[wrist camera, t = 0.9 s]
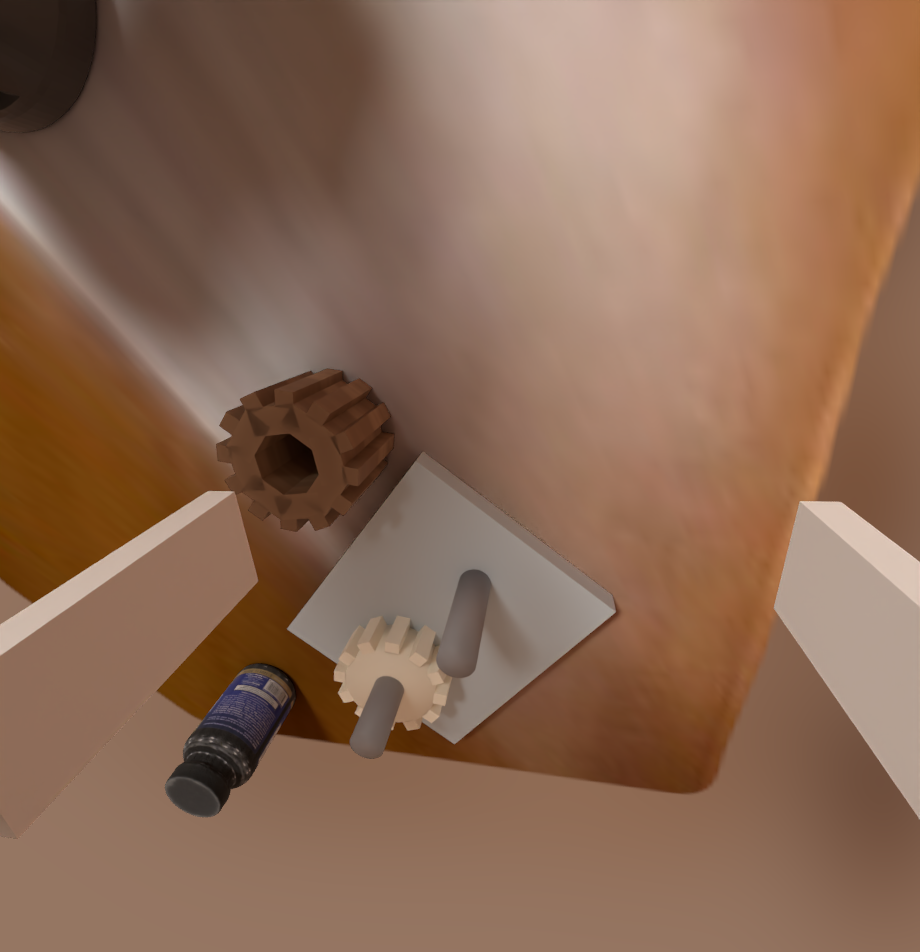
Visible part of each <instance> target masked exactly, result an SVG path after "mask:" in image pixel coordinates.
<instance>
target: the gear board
mask: <svg viewBox="0 0 920 952" xmlns="http://www.w3.org/2000/svg"><path fill="white" fill-rule="evenodd" d="M615 612H616V609H615V605H614V600H613V595H612V594H610V593H609V592H608V591H606V590H605V589H604V588H602V587H601V586H600V585H598V584H597V583H596V582H595V581H593V580H592V579H591V578H589V577H588V576H587V575H585V574H584V573H583V572H581V571H580V570H579V569H577V568H576V567H575V566H573V565H572V564H571V563H569V562H568V561H567V560H566V559H564V558H563V557H562V556H560V555H559V554H558V553H556V552H555V551H554V550H552V549H551V548H550V547H548V546H547V545H546V544H544V543H543V542H542V541H541V540H539V539H538V538H537V537H535V536H534V535H533V534H531V533H530V532H529V531H527V530H526V529H525V528H523V527H522V526H521V525H519V524H518V523H517V522H515V521H514V520H513V519H512V518H510V517H509V516H508V515H506V514H505V513H504V512H502V511H501V510H500V509H498V508H497V507H496V506H494V505H493V504H492V503H490V502H489V501H488V500H487V499H485V498H484V497H483V496H481V495H480V494H479V493H477V492H476V491H475V490H473V489H472V488H471V487H469V486H468V485H467V484H465V483H464V482H463V481H461V480H460V479H459V478H458V477H456V476H455V475H454V474H452V473H451V472H450V471H448V470H447V469H446V468H444V467H443V466H442V465H440V464H439V463H438V462H436V461H435V460H434V459H433V458H431V457H430V456H429V455H427V454H426V453H425V452H422V453H421V454H420V456H419V457H418V458H417V460H416V461H415V462H414V463H413V465H412V466H411V467H410V469H409V470H408V471H407V473H406V474H405V475H404V476H403V478H402V479H401V480H400V482H399V483H398V484H397V486H396V487H395V488H394V490H393V491H392V492H391V493H390V495H389V496H388V497H387V499H386V500H385V501H384V503H383V504H382V505H381V507H380V508H379V509H378V510H377V512H376V513H375V514H374V516H373V517H372V518H371V520H370V521H369V522H368V524H367V525H366V526H365V527H364V529H363V530H362V531H361V533H360V534H359V535H358V537H357V538H356V539H355V541H354V542H353V543H352V544H351V546H350V547H349V548H348V550H347V551H346V552H345V554H344V555H343V556H342V558H341V559H340V560H339V561H338V563H337V564H336V565H335V567H334V568H333V569H332V571H331V572H330V573H329V575H328V576H327V577H326V578H325V580H324V581H323V582H322V584H321V585H320V586H319V588H318V589H317V590H316V592H315V593H314V594H313V595H312V597H311V598H310V599H309V601H308V602H307V603H306V605H305V606H304V607H303V608H302V610H301V611H300V612H299V614H298V615H297V616H296V618H295V619H294V620H293V622H292V623H291V624H290V626H289V627H288V628H287V630H289V631H290V632H292V633H293V634H295V635H296V636H297V637H299V638H300V639H302V640H303V641H305V642H306V643H308V644H309V645H311V646H312V647H313V648H315V649H316V650H318V651H319V652H321V653H322V654H324V655H325V656H327V657H328V658H330V659H331V660H332V661H334V662H335V663H337V666H336V668H335V670H334V681H338V682H342V683H343V684H342V686H341V688H340V690H339V692H338V694H339V695H340V697H341V699H342V700H343V702H344V703H346V702H351V701H355V703H356V704H357V705H358V707H357V709H356V711H355V714H356V715H358V716H359V717H360V718H359V720H358V722H357V725H356V727H355V729H354V732H353V734H352V736H351V739H350V746H351V748H352V749H353V751H354V752H355V753H357V754H358V755H360V756H362V757H365V758H369V759H374V758H378V757H380V756H381V755H382V754H383V751H384V749H385V746H386V743H387V740H388V737H389V734H390V731H391V730H393V728H394V725H395V722H403V724H404V725H405V727H406V729H407V730H408V731H409V730H415V729H420V726H421V722H423V723H424V724H426V725H427V726H429V727H430V728H432V729H433V730H434V731H436V732H437V733H439V734H440V735H442V736H443V737H445V738H446V739H448V740H449V741H451V742H452V743H453V744H455V743H457V742H458V741H459V740H460V739H462V738H463V737H464V736H465V735H466V734H468V733H469V732H470V731H471V730H473V729H474V728H475V727H476V726H477V725H479V724H480V723H481V722H482V721H484V720H485V719H486V718H487V717H488V716H490V715H491V714H492V713H493V712H495V711H496V710H497V709H498V708H499V707H501V706H502V705H503V704H504V703H506V702H507V701H508V700H509V699H510V698H512V697H513V696H514V695H515V694H517V693H518V692H519V691H520V690H521V689H523V688H524V687H525V686H526V685H528V684H529V683H530V682H531V681H532V680H534V679H535V678H536V677H537V676H539V675H540V674H541V673H542V672H543V671H545V670H546V669H547V668H548V667H550V666H551V665H552V664H553V663H554V662H556V661H557V660H558V659H559V658H561V657H562V656H563V655H564V654H565V653H567V652H568V651H569V650H570V649H572V648H573V647H574V646H575V645H576V644H578V643H579V642H580V641H581V640H582V639H584V638H585V637H586V636H587V635H589V634H590V633H591V632H592V631H593V630H595V629H596V628H597V627H598V626H600V625H601V624H602V623H603V622H604V621H606V620H607V619H608V618H609V617H611V616H612V615H613V614H614V613H615Z"/></svg>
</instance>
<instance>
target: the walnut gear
mask: <svg viewBox="0 0 920 952" xmlns="http://www.w3.org/2000/svg"><path fill="white" fill-rule="evenodd" d="M342 378H343V371H340V370H334V369H325V370H323V371H320V372H318V373H315V374H312V372H311V371H309V372H306V373H304V374H301V375H298V376H296V377H293V378H290V379H288V380H285V381H282V382H280V383H277V384H275V385H272V386H269V387H267V388H264V389H261V390H259V391H256V392H254V393H251V394H249V395H247V396H245V397H243V398H241V399H240V401H241V402H242V404H243V405H242V406H239V407H237V408H234V409H232V410H229V411H227V412H226V414H225V416H224V418H223V419H222V421H221V423H220V425H219V426H220V427H222V428H223V429H224V430H226V431H227V432H229V433H230V434H231V435H232V436H231V437H230V438H228V439H226V440H224V441H222V442H220V443H218V444H216V448H217V458H218V461H220V462H226V463H231V464H232V466H233V469H234V472H235V474H234V475H232V476H230V477H229V478H227V479H225V482H226V483H227V485H228V487H229V488H230V490H231V491H232V492H235V495H236V494H239V493H241V492H242V493H244V494H245V495H247V496H248V497H249V498H251V499H252V500H254V501H253V503H252V505H251V506H250V508H249V510H248V511H250V512H251V513H252V514H254V515H255V516H257V517H258V518H259V519H261V520H262V521H263V520H264V519H265V518H266V517H268V516H269V515H270V514H271V513H272V514H273V515H275V516H276V517H277V518H279V519H280V524H281V529H285V530H290V531H295V532H297V531H298V530H299V529H300V528H301V527H302V526H303V525H304V524H305V523H306V522H307V521H308V520H309V521H310V523H311V524H312V526H313V528H314V530H315V531H316V530H319V529H322V528H325V527H328V526H330V525H331V524H332V523H333V522H334V520H335V519H336V518H337V517H338V516H339V515H340V514H341V515H343V516H344V515H345V514H346V512H347V511H348V510H349V509H350V508H351V507H352V506H353V504H354V503H355V502H356V501H357V500H358V499H359V498H360V496H361V495H362V494H363V493H364V492H365V491H366V489H367V488H368V487H369V486H370V485H371V484H372V483H373V481H374V480H375V479H376V478H377V477H378V476H379V475H380V473H381V472H382V471H383V469H384V468H385V467H386V465H387V464H388V462H386V461H385V460H384V458H385V457H386V456H387V455H388V453H389V452H390V451H391V450H392V449H393V446H394V434H392V433H386V432H382V430H381V425H382V424H383V423H384V422H385V421H386V420H388V419H389V418H390V417H391V416H390V414H389V412H388V410H387V408H386V406H385V404H384V403H381V404H379V405H377V406H376V405H374V404H373V403H372V402H370V401H369V400H368V399H366V397H367V395H368V394H369V392H370V391H371V389H372V387H370V386H369V385H368V384H366V383H365V382H364V381H362V380H361V379H360V378H359V379H357V380H355V381H353V382H351V383H349V384H347V383H345V382H344V381H343V380H342Z"/></svg>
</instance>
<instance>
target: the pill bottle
mask: <svg viewBox="0 0 920 952" xmlns="http://www.w3.org/2000/svg"><path fill="white" fill-rule="evenodd" d="M295 699H296V693H295V688H294V686H293V684H292V682H291V680H290V679H289V678H288V677H287V676H286V675H285V674H284V673H283V672H281V671H280V670H279V669H277V668H275V667H272V666H269V665H267V664H252V665H249V666H246V667H245V668H244V669H243V670H241V671H240V672H239V673H238V675H237V676H236V678H235V679H234V680H233V681H232V683H231V684H230V685H229V687H228V688H227V689H226V690H225V692H224V693H223V694H222V696H221V697H220V698H219V699H218V701H217V702H216V703H215V705H214V706H213V707H212V709H211V710H210V711H209V712H208V714H207V715H206V716H205V718H204V719H203V720H202V722H201V723H200V724H199V725H198V727H197V728H196V729H195V731H194V732H193V733H192V734H191V736H190V737H189V738H188V740H187V742H186V743H185V746H184V750H183V758H184V763H182V764H180V765H179V766H178V767H177V768H176V769H175V771H174V772H173V773H172V775H171V776H170V778H169V779H168V780H167V782H166V784H165V790H166V794H167V796H168V797H169V799H170V800H171V801H172V802H173V803H174V804H175V805H176V806H177V807H178V808H180V809H182V810H183V811H185V812H187V813H189V814H191V815H195V816H198V817H211V816H215V815H216V814H218V813H219V812H220V810H221V809H222V807H223V805H224V804H225V803H226V801H227V800H228V797H229V795H230V789H233V788H237V787H239V786H241V785H243V784H244V783H246V782H247V781H248V780H249V778H250V777H251V776H252V774H253V772H254V771H255V769H256V767H257V766H258V764H259V762H260V761H261V759H262V757H263V756H264V754H265V752H266V750H267V749H268V747H269V745H270V744H271V742H272V740H273V738H274V737H275V735H276V734H277V732H278V730H279V729H280V727H281V725H282V724H283V722H284V720H285V718H286V717H287V715H288V713H289V712H290V710H291V708H292V707H293V705H294V703H295Z"/></svg>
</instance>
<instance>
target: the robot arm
mask: <svg viewBox="0 0 920 952" xmlns="http://www.w3.org/2000/svg"><path fill="white" fill-rule="evenodd" d="M95 33H96V5H95V0H0V130H2V131H7V132H30V131H35V130H38V129H41V128H44V127H46V126H48V125H50V124H52V123H53V122H55V121H56V120H58V119H59V118H60V117H61V116H62V115H64V114H65V113H66V112H67V110H68V109H69V108H70V107H71V106H72V104H73V103H74V102H75V100H76V99H77V97H78V95H79V94H80V92H81V90H82V88H83V85H84V83H85V81H86V78H87V75H88V72H89V69H90V65H91V61H92V56H93V50H94V44H95ZM257 582H258V578H257V574H256V570H255V567H254V563H253V559H252V555H251V552H250V548H249V544H248V540H247V536H246V533H245V529H244V525H243V521H242V518H241V514H240V510H239V506H238V502H237V499H236V495H235V492H232V491H207V492H206V493H204V494H203V495H201V496H200V497H198V498H196V499H195V500H193V501H192V502H190V503H189V504H187V505H186V506H184V507H183V508H181V509H179V510H178V511H176V512H175V513H173V514H172V515H170V516H169V517H167V518H165V519H164V520H162V521H161V522H159V523H158V524H156V525H155V526H153V527H151V528H150V529H148V530H147V531H145V532H144V533H142V534H141V535H139V536H137V537H136V538H134V539H133V540H131V541H130V542H128V543H127V544H125V545H123V546H122V547H120V548H119V549H117V550H116V551H114V552H113V553H111V554H109V555H108V556H106V557H105V558H103V559H102V560H100V561H99V562H97V563H95V564H94V565H92V566H91V567H89V568H88V569H86V570H85V571H83V572H81V573H80V574H78V575H77V576H75V577H74V578H72V579H71V580H69V581H67V582H66V583H64V584H63V585H61V586H60V587H58V588H57V589H55V590H53V591H52V592H50V593H49V594H47V595H46V596H44V597H43V598H41V599H39V600H38V601H36V602H35V603H33V604H32V605H30V606H29V607H27V608H26V609H24V610H22V611H21V612H19V613H18V614H16V615H15V616H13V617H11V618H10V619H8V620H7V621H5V622H4V623H2V624H1V625H0V836H2V837H8V838H14V839H18V838H19V837H20V836H21V835H22V834H23V833H24V832H25V831H26V830H27V829H28V828H29V826H30V825H31V824H32V823H33V822H34V821H35V820H36V819H37V818H38V817H39V816H40V815H41V813H42V812H43V811H44V810H45V809H46V808H47V807H48V806H49V805H50V804H51V803H52V802H53V801H54V800H55V799H56V797H57V796H58V795H59V794H60V793H61V792H62V791H63V790H64V789H65V788H66V787H67V786H68V785H69V784H70V783H71V781H72V780H73V779H74V778H75V777H76V776H77V775H78V774H79V773H80V772H81V771H82V770H83V769H84V767H85V766H86V765H87V764H88V763H89V762H90V761H91V760H92V759H93V758H94V757H95V755H97V754H98V752H99V751H100V750H101V749H102V748H103V747H104V746H105V745H106V744H107V743H108V742H109V741H110V740H111V738H112V737H113V736H114V735H115V734H116V733H117V732H118V731H119V730H120V729H121V728H122V727H123V726H124V725H125V724H126V722H127V721H128V720H129V719H130V718H131V717H132V716H133V715H134V714H135V713H136V712H137V711H138V710H139V708H140V707H141V706H142V705H143V704H144V703H145V702H146V701H147V700H148V699H149V698H150V697H151V696H152V695H153V693H154V692H155V691H156V690H157V689H158V688H159V687H160V686H161V685H162V684H163V683H164V682H165V681H166V680H167V679H168V677H169V676H170V675H171V674H172V673H173V672H174V671H175V670H176V669H177V668H178V667H179V666H180V665H181V663H182V662H183V661H184V660H185V659H186V658H187V657H188V656H189V655H190V654H191V653H192V652H193V651H194V650H195V648H196V647H197V646H198V645H199V644H200V643H201V642H202V641H203V640H204V639H205V638H206V637H207V636H208V635H209V633H210V632H211V631H212V630H213V629H214V628H215V627H216V626H217V625H218V624H219V623H220V622H221V621H222V620H223V618H224V617H225V616H226V615H227V614H228V613H229V612H230V611H231V610H232V609H233V608H234V607H235V606H236V605H237V603H238V602H239V601H240V600H241V599H242V598H243V597H244V596H245V595H246V594H247V593H248V592H249V591H250V590H251V588H252V587H253V586H254V585H255V584H256V583H257ZM774 609H775V611H776V612H777V614H778V615H779V617H780V618H781V619H782V621H783V622H784V624H785V625H786V627H787V628H788V630H789V631H790V633H791V634H792V635H793V637H794V638H795V640H796V641H797V643H798V644H799V646H800V647H801V648H802V650H803V651H804V653H805V654H806V655H807V657H808V658H809V660H810V661H811V663H812V664H813V666H814V667H815V669H816V670H817V672H818V673H819V674H820V676H821V677H822V679H823V680H824V682H825V683H826V684H827V686H828V687H829V689H830V690H831V692H832V693H833V694H834V696H835V698H836V699H837V700H838V702H839V703H840V705H841V706H842V708H843V709H844V711H845V712H846V713H847V715H848V716H849V718H850V719H851V720H852V722H853V724H854V725H855V726H856V728H857V729H858V731H859V732H860V734H861V735H862V737H863V738H864V739H865V741H866V742H867V744H868V745H869V747H870V748H871V749H872V751H873V752H874V754H875V755H876V757H877V758H878V760H879V761H880V763H881V764H882V765H883V767H884V768H885V770H886V771H887V773H888V774H889V776H890V777H891V778H892V780H893V781H894V783H895V784H896V786H897V787H898V788H899V790H900V791H901V793H902V794H903V796H904V797H905V799H906V800H907V802H908V803H909V805H910V806H911V807H912V809H913V810H914V812H915V813H916V814H917V816H918V818H919V819H920V562H919V561H918V560H916V559H915V558H914V557H912V556H911V555H910V554H908V553H907V552H906V551H904V550H903V549H902V548H901V547H899V546H898V545H897V544H895V543H894V542H893V541H891V540H890V539H889V538H887V537H886V536H885V535H883V534H882V533H881V532H879V531H878V530H877V529H876V528H874V527H873V526H872V525H870V524H869V523H868V522H866V521H865V520H864V519H862V518H861V517H860V516H859V515H857V514H856V513H855V512H853V511H852V510H851V509H849V508H848V507H847V506H845V505H844V504H843V503H841V502H812V501H800V503H799V507H798V511H797V515H796V519H795V523H794V527H793V531H792V535H791V540H790V544H789V548H788V552H787V556H786V560H785V564H784V568H783V572H782V576H781V581H780V585H779V589H778V593H777V597H776V601H775V605H774Z"/></svg>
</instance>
